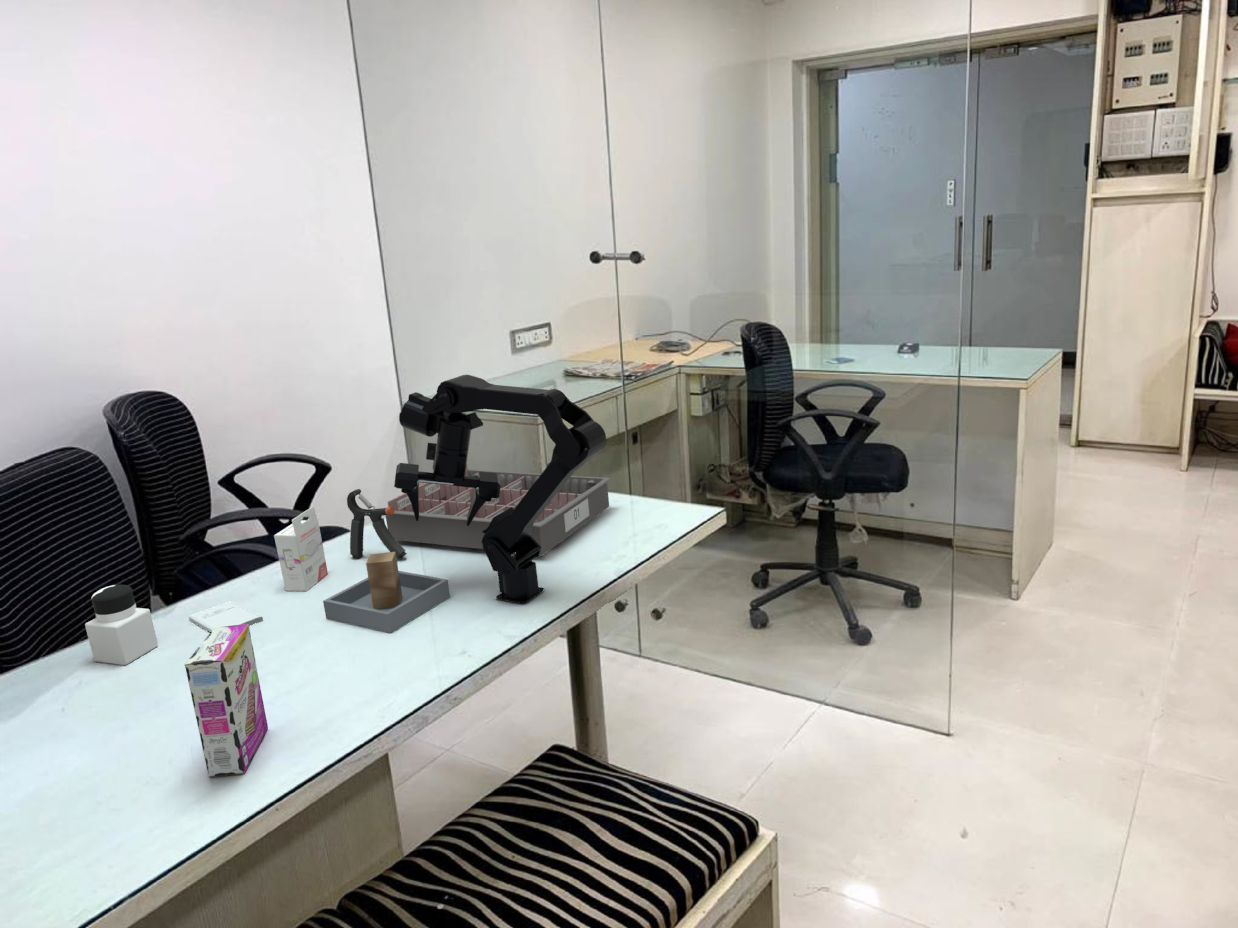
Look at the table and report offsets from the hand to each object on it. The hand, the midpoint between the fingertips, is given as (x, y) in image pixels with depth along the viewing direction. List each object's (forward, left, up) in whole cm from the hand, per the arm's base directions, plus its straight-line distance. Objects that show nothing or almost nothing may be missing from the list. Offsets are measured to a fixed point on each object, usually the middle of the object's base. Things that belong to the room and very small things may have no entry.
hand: (442, 522), depth 169 cm
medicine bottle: (+36, +42, -13) cm, 57 cm away
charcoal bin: (+5, +11, -13) cm, 18 cm away
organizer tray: (+11, -31, -13) cm, 35 cm away
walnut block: (+5, +11, -12) cm, 17 cm away
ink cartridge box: (+30, +8, -13) cm, 34 cm away
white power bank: (+31, +27, -14) cm, 43 cm away
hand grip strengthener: (+25, -7, -13) cm, 29 cm away
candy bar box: (-9, +54, -13) cm, 57 cm away
